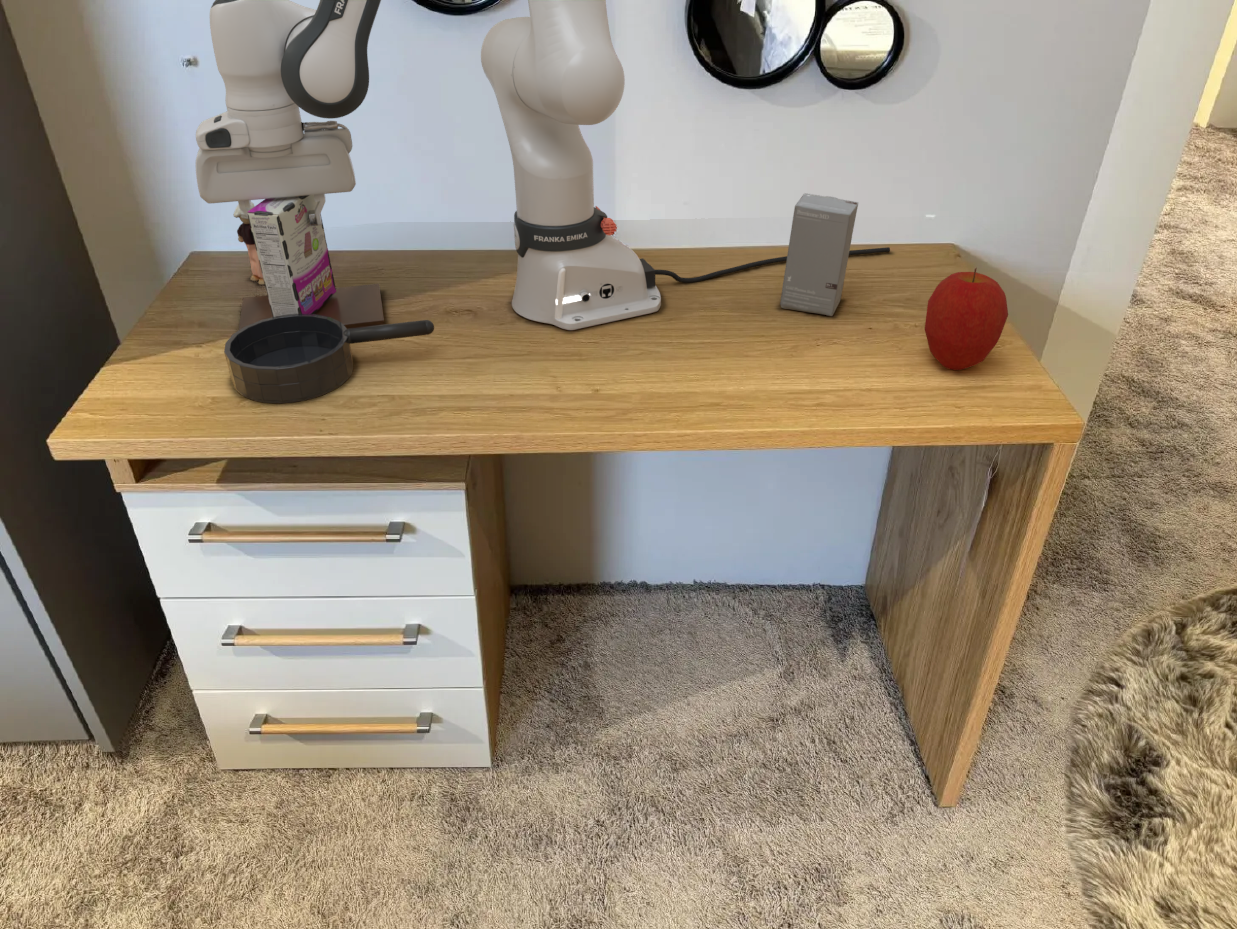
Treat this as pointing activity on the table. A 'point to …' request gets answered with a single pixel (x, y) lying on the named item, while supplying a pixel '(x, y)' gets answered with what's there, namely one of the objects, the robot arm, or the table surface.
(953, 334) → the apple
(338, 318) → the cutting board
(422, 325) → the pan handle
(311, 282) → the candy bar box
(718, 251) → the table surface
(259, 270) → the grandmother figurine
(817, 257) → the cosmetic box
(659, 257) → the table surface
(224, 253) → the table surface
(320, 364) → the pan
